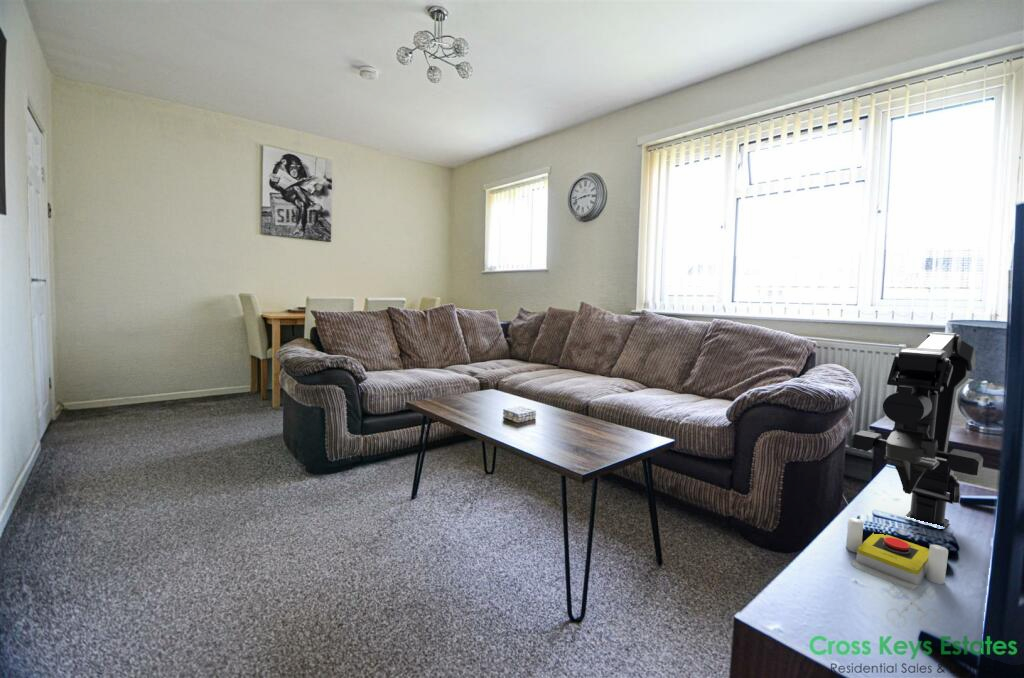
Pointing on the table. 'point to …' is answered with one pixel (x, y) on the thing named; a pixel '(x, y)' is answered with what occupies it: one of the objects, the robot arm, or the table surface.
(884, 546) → the emergency button
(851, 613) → the table surface
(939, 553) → the post
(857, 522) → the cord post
